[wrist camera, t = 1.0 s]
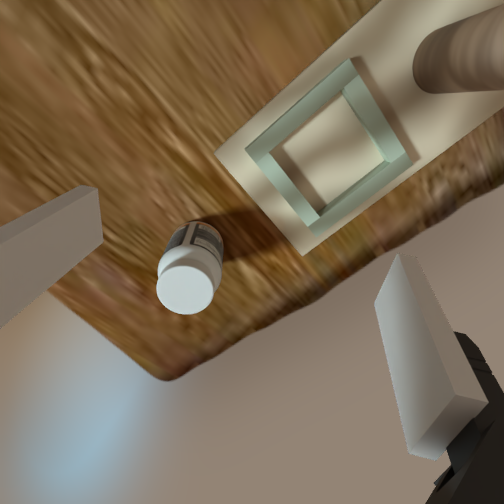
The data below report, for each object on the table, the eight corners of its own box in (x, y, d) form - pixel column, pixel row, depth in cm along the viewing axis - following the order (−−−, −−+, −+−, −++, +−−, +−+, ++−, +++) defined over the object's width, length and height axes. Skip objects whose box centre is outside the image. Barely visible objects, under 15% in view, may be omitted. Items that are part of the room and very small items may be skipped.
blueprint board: (214, 151, 31) (203, 174, 21) (460, -73, 25) (619, -200, 15) (299, 250, 36) (325, 309, 26) (524, 82, 30) (678, 70, 19)
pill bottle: (180, 271, 37) (162, 326, 28) (164, 225, 34) (138, 268, 25) (229, 261, 36) (227, 313, 27) (216, 213, 34) (209, 253, 25)
